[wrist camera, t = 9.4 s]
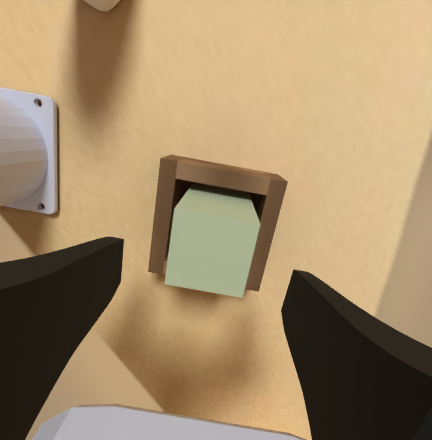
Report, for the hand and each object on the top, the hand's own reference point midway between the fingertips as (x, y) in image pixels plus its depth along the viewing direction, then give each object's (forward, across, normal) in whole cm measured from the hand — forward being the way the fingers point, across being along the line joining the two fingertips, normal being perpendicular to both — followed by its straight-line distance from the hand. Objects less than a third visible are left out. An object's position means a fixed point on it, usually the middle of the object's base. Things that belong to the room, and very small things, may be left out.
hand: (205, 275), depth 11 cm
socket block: (+9, 0, 0) cm, 9 cm away
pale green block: (+9, 0, 0) cm, 9 cm away
